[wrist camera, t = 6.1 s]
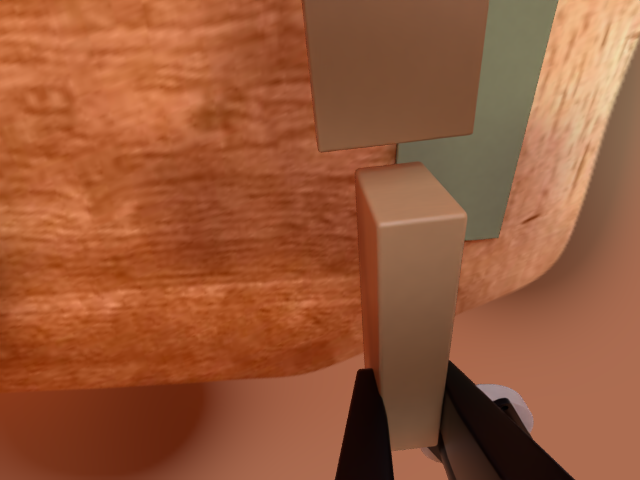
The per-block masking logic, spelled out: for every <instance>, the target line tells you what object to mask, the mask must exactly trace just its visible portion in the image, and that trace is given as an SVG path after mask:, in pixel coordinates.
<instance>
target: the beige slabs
mask: <svg viewBox="0 0 640 480" xmlns="http://www.w3.org/2000/svg"><path fill="white" fill-rule="evenodd" d="M488 7H489V0H302V9H303V18H304V28H305V37H306V47H307V56H308V66H309V75H310V84H311V94H312V103H313V113H314V122H315V131H316V141H317V146H318V150H319V152H321V153H322V152H330V151H339V150H347V149H356V148H364V147H373V146H381V145H389V144H398V143H406V142H415V141H423V140H432V139H440V138H449V137H457V136H466V135H471V134H472V133H473V128H474V120H475V112H476V104H477V96H478V88H479V80H480V71H481V63H482V55H483V47H484V39H485V31H486V23H487V15H488ZM355 192H356V211H357V230H358V249H359V268H360V287H361V306H362V325H363V344H364V362H365V368H372V369H373V372H374V376H375V380H376V384H377V388H378V391H379V394H380V396H381V397H382V398H383V402H384V406H385V410H386V414H387V418H388V425H389V435H390V445H391V451H397V450H406V449H414V448H423V447H431V446H436V445H437V444H438V437H439V429H440V422H441V414H442V406H443V399H444V391H445V384H446V376H447V369H448V361H449V353H450V346H451V338H452V331H453V322H454V316H455V308H456V300H457V293H458V285H459V278H460V270H461V263H462V255H463V247H464V240H465V232H466V225H467V213H466V212H465V210H464V209H463V208H462V207H461V206H460V205H459V204H458V203H457V201H456V200H455V199H454V198H453V197H452V196H451V195H450V194H449V192H448V191H447V190H446V189H445V188H444V187H443V186H442V185H441V183H440V182H439V181H438V180H437V179H436V178H435V177H434V176H433V174H432V173H431V172H430V171H429V170H428V169H427V168H426V167H425V165H424V164H423V163H422V162H419V161H417V162H409V163H401V164H392V165H384V166H375V167H367V168H359V169H356V171H355Z"/></svg>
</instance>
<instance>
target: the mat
mask: <svg viewBox="0 0 640 480" xmlns="http://www.w3.org/2000/svg"><path fill="white" fill-rule="evenodd" d="M557 4H558V0H489V7H488V15H487V23H486V31H485V39H484V47H483V55H482V63H481V71H480V80H479V88H478V96H477V104H476V112H475V120H474V128H473V133H472V134H471V135H466V136H457V137H449V138H440V139H432V140H423V141H415V142H406V143H398V144H397V150H396V164H401V163H409V162H417V161H419V162H422V163H423V164H424V165H425V167H426V168H427V169H428V170H429V171H430V172H431V173H432V174H433V176H434V177H435V178H436V179H437V180H438V181H439V182H440V183H441V185H442V186H443V187H444V188H445V189H446V190H447V191H448V192H449V194H450V195H451V196H452V197H453V198H454V199H455V200H456V201H457V203H458V204H459V205H460V206H461V207H462V208H463V209H464V210H465V212H466V213H467V225H466V232H465V240H464V241H467V240H480V239H492V238H499V234H500V230H501V226H502V222H503V218H504V214H505V210H506V206H507V202H508V198H509V194H510V190H511V186H512V182H513V178H514V174H515V170H516V166H517V162H518V158H519V154H520V150H521V146H522V142H523V138H524V134H525V131H526V127H527V123H528V119H529V115H530V111H531V107H532V103H533V99H534V95H535V91H536V87H537V83H538V79H539V75H540V71H541V67H542V63H543V59H544V55H545V51H546V47H547V43H548V39H549V35H550V31H551V27H552V23H553V19H554V15H555V11H556V7H557Z"/></svg>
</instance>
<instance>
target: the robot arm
mask: <svg viewBox="0 0 640 480" xmlns="http://www.w3.org/2000/svg"><path fill="white" fill-rule="evenodd" d="M427 448H428V449H429V450H430V451H431V452H432V453H433V454H434V455H435V456H436V457H437V458H438V459H439V460H440V461H441V462H442V463H443V465H444V468H445V470H446V473H447V476H448V479H449V480H575V479H574V478H573V477H572V476H570V475H569V474H568V473H567V472H566V471H565V470H564V469H563V468H562V467H561V466H560V465H559V464H558V463H557V462H556V461H555V460H554V459H553V458H551V456H550V455H549V454H547V453H546V452H545V451H544V450H543V449H542V448H541V447H540V446H539V445H538V444H537V443H536V442H535V441H534V440H533V439H532V437H531V435H530V433H529V432H528V430H527V428H526V427H525V425H524V423H523V422H522V420H521V418H520V417H519V415H518V414H517V412H516V410H515V409H514V407H513V405H512V404H511V402H510V400H509V399H508V398H500V399H497V400H495V401H492V400H491V399H490V398H489V397H488V396H487V395H486V394H485V393H484V392H483V391H481V390H480V389H479V388H478V387H477V386H476V385H475V384H474V383H473V382H472V381H471V380H470V379H469V378H468V377H467V376H466V375H465V374H464V373H463V372H462V371H460V370H459V369H458V368H457V367H456V366H455V365H454V364H453V363H452V362H451V361H450V360H449V361H448V369H447V376H446V384H445V391H444V399H443V406H442V414H441V422H440V429H439V437H438V444H437V445H436V446H431V447H427ZM335 480H394V476H393V465H392V455H391V445H390V435H389V425H388V418H387V414H386V410H385V406H384V402H383V398H382V397H381V396H380V394H379V391H378V388H377V384H376V380H375V376H374V372H373V369H372V368H365V369H359V370H358V371H357V375H356V380H355V385H354V390H353V395H352V399H351V404H350V409H349V414H348V419H347V424H346V428H345V434H344V438H343V443H342V448H341V453H340V458H339V463H338V467H337V472H336V477H335Z"/></svg>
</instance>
